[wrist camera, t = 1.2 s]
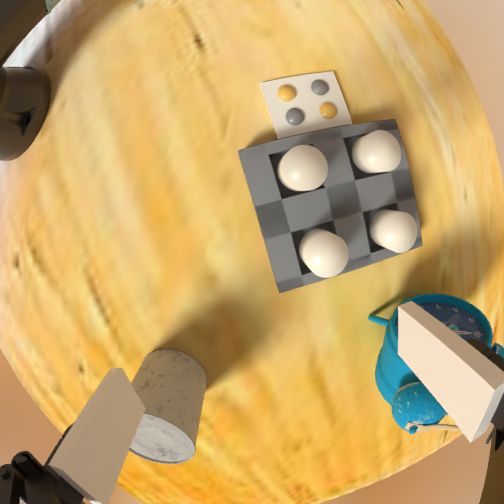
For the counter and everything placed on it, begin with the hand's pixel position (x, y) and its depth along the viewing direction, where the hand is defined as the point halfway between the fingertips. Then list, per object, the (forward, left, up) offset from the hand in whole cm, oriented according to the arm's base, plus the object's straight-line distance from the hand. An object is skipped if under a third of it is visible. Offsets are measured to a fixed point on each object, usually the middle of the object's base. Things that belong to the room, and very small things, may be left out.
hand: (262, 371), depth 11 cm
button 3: (-8, +15, -17) cm, 24 cm away
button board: (-4, +11, -20) cm, 23 cm away
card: (-16, +11, -20) cm, 28 cm away
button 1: (-8, +7, -17) cm, 20 cm away
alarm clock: (+15, +18, -20) cm, 31 cm away
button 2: (0, +7, -17) cm, 18 cm away
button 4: (0, +15, -17) cm, 22 cm away
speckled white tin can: (+13, -15, -20) cm, 28 cm away
